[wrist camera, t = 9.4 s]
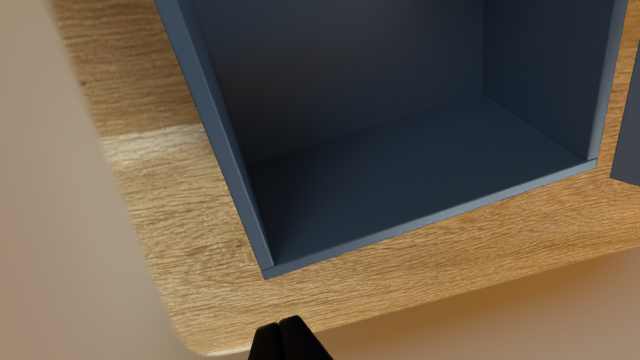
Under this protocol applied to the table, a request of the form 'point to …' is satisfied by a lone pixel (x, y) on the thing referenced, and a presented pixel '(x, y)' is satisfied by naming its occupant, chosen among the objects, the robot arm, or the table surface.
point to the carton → (390, 109)
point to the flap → (629, 134)
